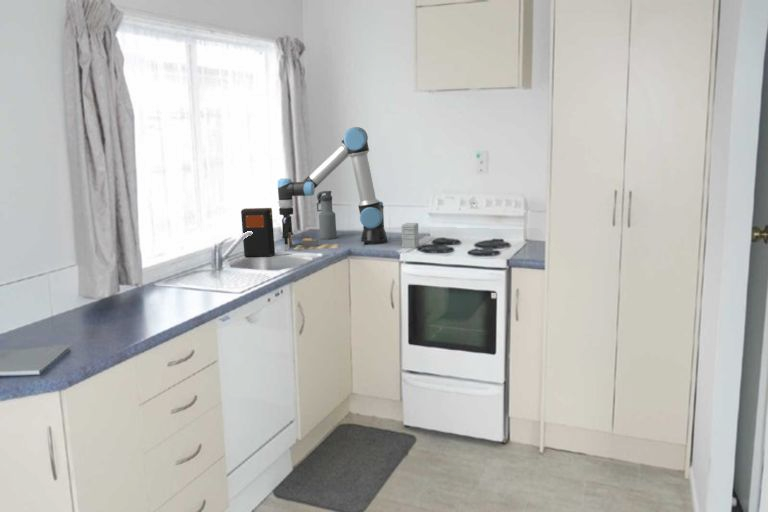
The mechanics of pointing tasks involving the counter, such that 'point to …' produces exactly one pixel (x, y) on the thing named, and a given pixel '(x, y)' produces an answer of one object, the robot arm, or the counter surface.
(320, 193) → the water bottle
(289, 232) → the peg
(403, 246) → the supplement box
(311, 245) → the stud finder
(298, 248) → the plywood panel
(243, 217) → the voltmeter
